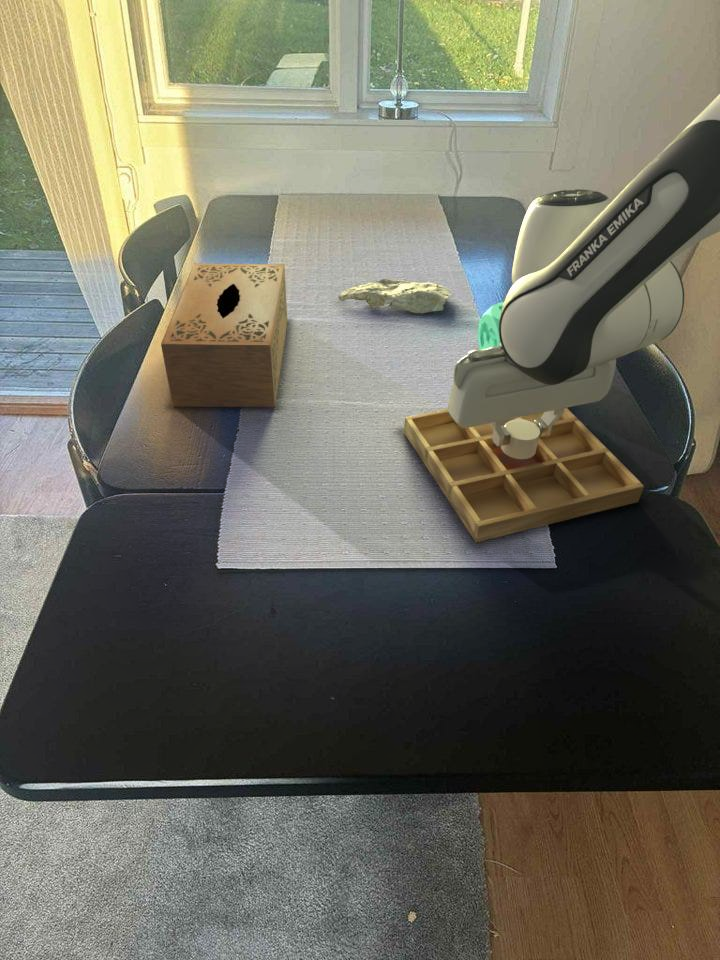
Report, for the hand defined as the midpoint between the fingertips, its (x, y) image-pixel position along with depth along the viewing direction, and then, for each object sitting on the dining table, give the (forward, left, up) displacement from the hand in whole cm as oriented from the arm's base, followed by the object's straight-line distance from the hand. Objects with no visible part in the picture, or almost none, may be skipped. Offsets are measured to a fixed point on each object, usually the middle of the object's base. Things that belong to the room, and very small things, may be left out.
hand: (521, 438), depth 87 cm
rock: (+47, -3, -5) cm, 47 cm away
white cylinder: (0, 0, -2) cm, 2 cm away
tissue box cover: (+37, +29, -5) cm, 47 cm away
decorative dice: (+24, -12, -5) cm, 27 cm away
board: (0, 0, -4) cm, 4 cm away
